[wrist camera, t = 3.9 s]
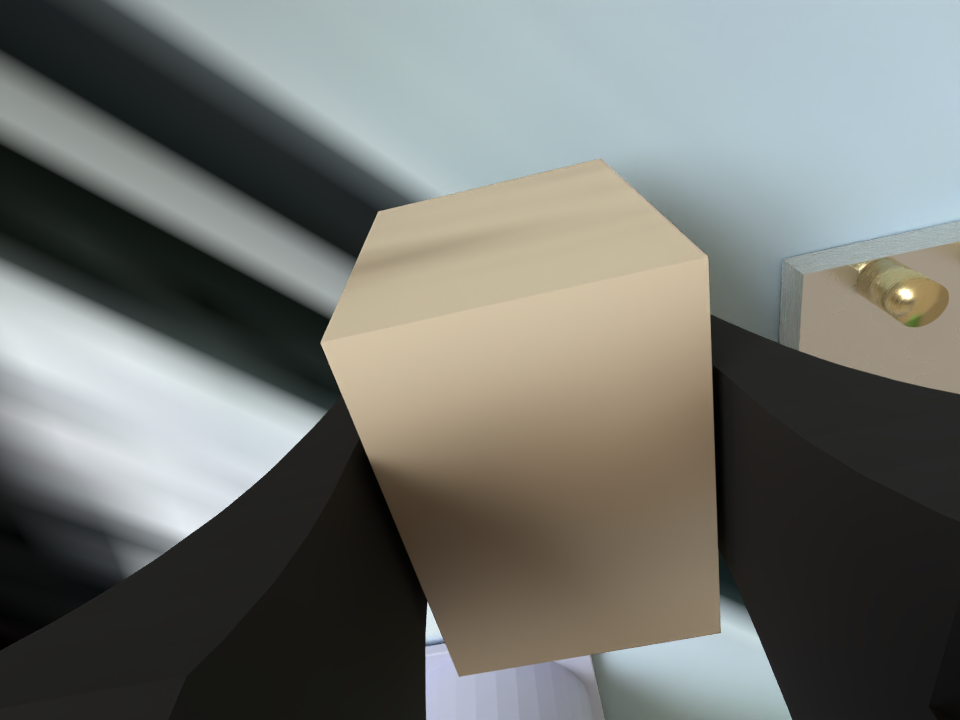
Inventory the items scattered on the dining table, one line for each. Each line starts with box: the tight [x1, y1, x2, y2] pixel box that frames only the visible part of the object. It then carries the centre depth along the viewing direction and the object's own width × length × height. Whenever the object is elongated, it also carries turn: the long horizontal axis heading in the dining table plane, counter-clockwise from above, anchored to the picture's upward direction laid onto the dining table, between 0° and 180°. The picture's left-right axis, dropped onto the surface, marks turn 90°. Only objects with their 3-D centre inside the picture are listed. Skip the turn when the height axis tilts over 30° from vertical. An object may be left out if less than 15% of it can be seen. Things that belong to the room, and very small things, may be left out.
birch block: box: [321, 159, 721, 677], centre depth 10 cm, size 6×4×5 cm, turn 13°
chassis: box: [779, 221, 960, 394], centre depth 15 cm, size 10×6×2 cm, turn 13°
